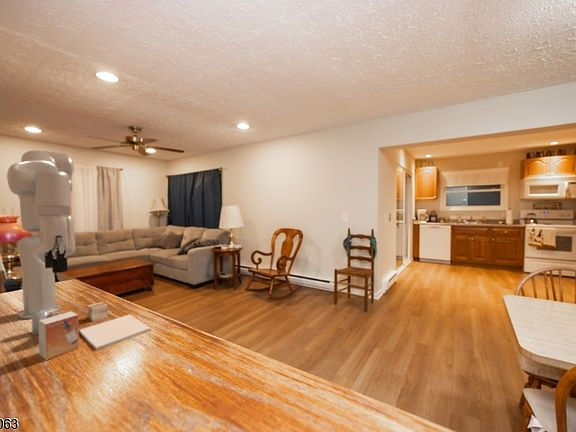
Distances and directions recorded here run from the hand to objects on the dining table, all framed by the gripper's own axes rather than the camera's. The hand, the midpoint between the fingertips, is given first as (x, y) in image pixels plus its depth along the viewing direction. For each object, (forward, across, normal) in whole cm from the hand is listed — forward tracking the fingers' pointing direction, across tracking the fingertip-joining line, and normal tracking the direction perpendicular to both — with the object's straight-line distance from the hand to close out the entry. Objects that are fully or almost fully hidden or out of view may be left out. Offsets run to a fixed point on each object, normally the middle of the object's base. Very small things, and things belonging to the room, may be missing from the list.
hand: (56, 269), depth 77 cm
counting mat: (+25, -1, +15) cm, 29 cm away
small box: (+25, 0, 0) cm, 25 cm away
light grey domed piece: (+25, -21, -1) cm, 32 cm away
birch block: (+25, -19, +15) cm, 35 cm away
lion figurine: (+25, -15, +2) cm, 29 cm away
